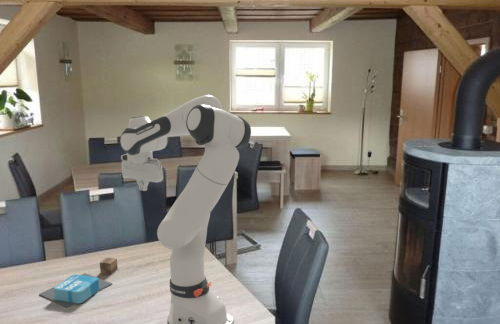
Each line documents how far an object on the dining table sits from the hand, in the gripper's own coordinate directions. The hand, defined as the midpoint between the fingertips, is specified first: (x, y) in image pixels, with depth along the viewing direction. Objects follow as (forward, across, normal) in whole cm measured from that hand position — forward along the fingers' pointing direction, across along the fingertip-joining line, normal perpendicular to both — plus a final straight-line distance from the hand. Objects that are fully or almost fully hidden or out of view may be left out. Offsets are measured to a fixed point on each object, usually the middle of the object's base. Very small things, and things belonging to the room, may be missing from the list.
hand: (143, 190), depth 170 cm
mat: (+35, +12, +26) cm, 45 cm away
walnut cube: (+35, +14, +9) cm, 39 cm away
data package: (+32, +2, +26) cm, 42 cm away
